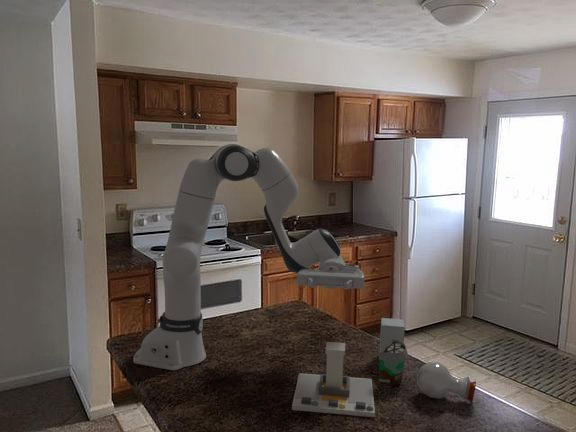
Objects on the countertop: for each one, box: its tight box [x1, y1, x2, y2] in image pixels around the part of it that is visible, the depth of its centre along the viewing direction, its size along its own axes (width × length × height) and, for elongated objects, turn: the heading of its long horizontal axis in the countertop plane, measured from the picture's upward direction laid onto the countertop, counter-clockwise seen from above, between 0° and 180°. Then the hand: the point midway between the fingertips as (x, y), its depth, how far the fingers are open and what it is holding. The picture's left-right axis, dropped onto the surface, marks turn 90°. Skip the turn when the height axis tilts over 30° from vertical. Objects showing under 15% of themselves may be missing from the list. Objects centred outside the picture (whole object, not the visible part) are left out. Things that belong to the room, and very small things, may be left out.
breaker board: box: [291, 372, 376, 418], centre depth 127 cm, size 21×18×3 cm
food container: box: [378, 339, 408, 386], centre depth 137 cm, size 12×6×10 cm, turn 148°
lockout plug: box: [324, 341, 346, 388], centre depth 128 cm, size 5×5×12 cm
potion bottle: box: [416, 361, 477, 405], centre depth 127 cm, size 9×10×15 cm
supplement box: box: [378, 317, 406, 355], centre depth 150 cm, size 7×7×13 cm
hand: (329, 286), depth 134 cm, fingers open, 8 cm apart
